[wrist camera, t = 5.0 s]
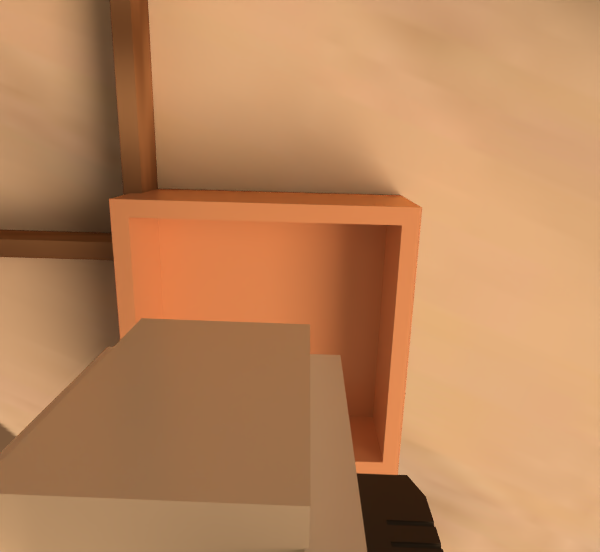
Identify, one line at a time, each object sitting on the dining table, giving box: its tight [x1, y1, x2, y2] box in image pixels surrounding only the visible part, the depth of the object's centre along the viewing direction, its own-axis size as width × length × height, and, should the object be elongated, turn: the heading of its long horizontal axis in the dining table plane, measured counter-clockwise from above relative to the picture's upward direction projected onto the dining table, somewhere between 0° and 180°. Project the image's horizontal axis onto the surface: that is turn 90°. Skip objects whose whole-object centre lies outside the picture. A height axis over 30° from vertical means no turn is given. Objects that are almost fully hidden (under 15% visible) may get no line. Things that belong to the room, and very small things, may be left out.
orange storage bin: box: [109, 189, 422, 475], centre depth 22 cm, size 12×12×4 cm
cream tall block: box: [0, 318, 311, 552], centre depth 9 cm, size 4×4×6 cm
